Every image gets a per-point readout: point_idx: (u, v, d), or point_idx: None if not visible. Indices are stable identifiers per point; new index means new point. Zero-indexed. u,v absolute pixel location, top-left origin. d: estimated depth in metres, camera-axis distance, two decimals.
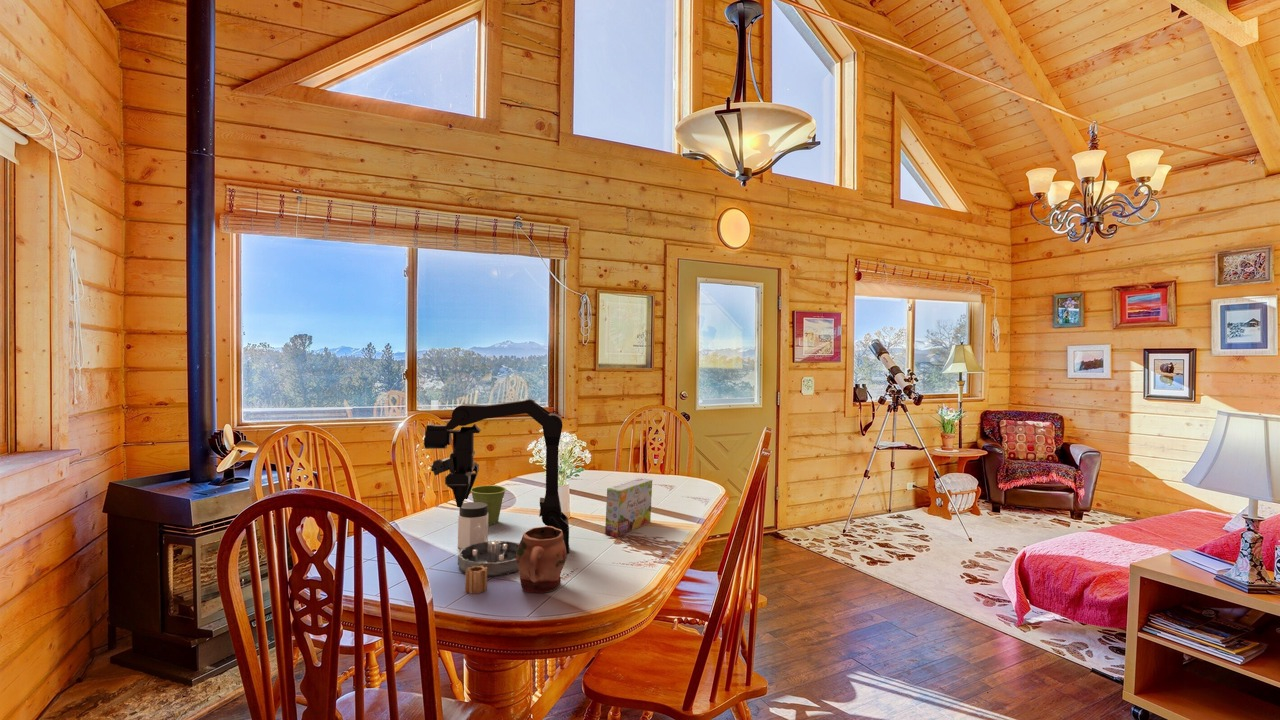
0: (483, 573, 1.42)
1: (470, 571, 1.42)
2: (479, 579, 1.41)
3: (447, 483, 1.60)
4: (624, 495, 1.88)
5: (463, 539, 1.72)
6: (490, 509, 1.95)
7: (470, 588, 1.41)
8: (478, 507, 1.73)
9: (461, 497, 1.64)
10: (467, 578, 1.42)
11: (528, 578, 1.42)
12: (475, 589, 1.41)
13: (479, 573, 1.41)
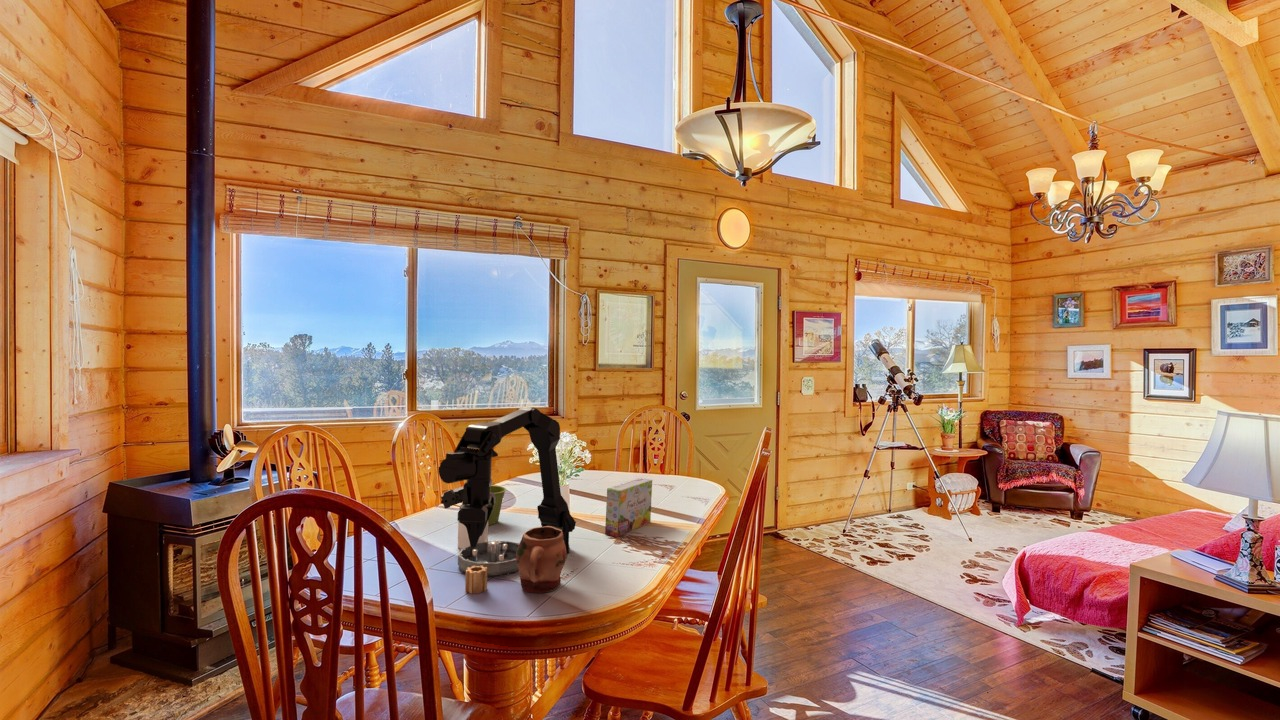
0: (483, 573, 1.42)
1: (470, 571, 1.42)
2: (479, 579, 1.41)
3: (460, 519, 1.34)
4: (624, 495, 1.88)
5: (463, 539, 1.72)
6: None
7: (470, 588, 1.41)
8: None
9: (476, 535, 1.38)
10: (467, 578, 1.42)
11: (528, 578, 1.42)
12: (475, 589, 1.41)
13: (479, 573, 1.41)
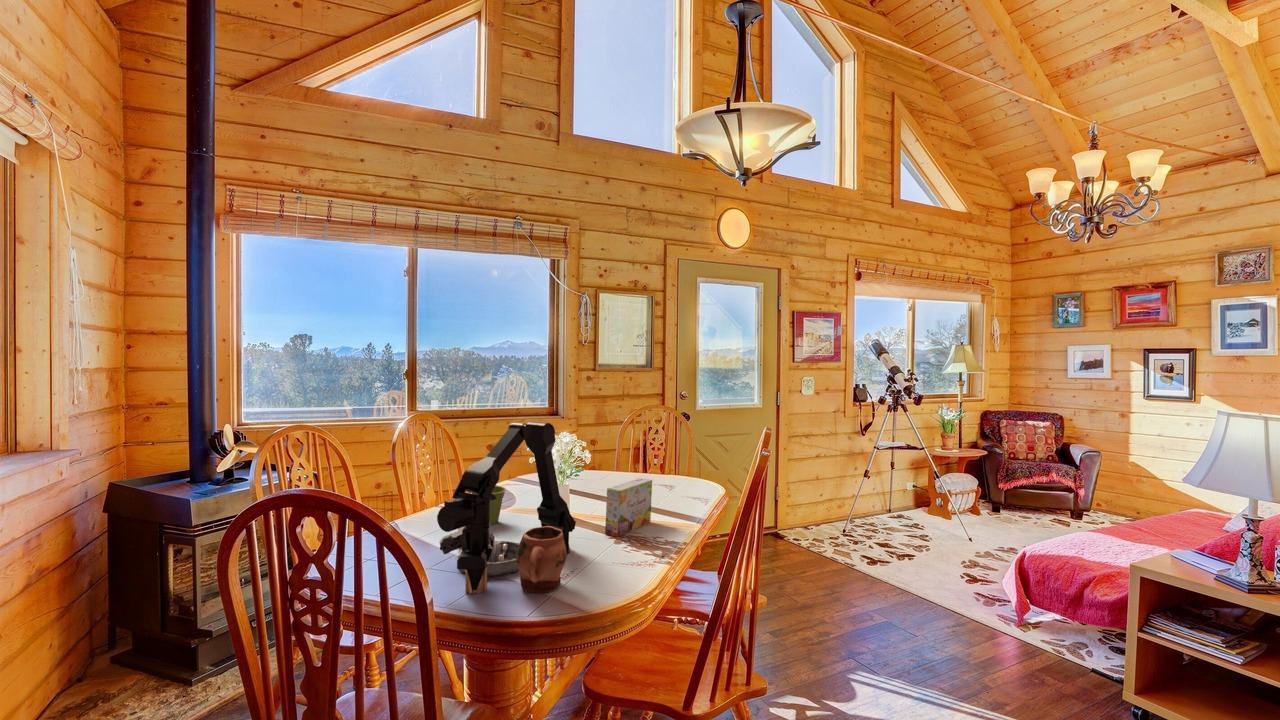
0: (483, 573, 1.42)
1: None
2: None
3: (459, 567, 1.34)
4: (624, 495, 1.88)
5: None
6: (490, 509, 1.95)
7: (470, 588, 1.41)
8: None
9: (477, 579, 1.40)
10: (467, 578, 1.42)
11: (528, 578, 1.42)
12: None
13: None
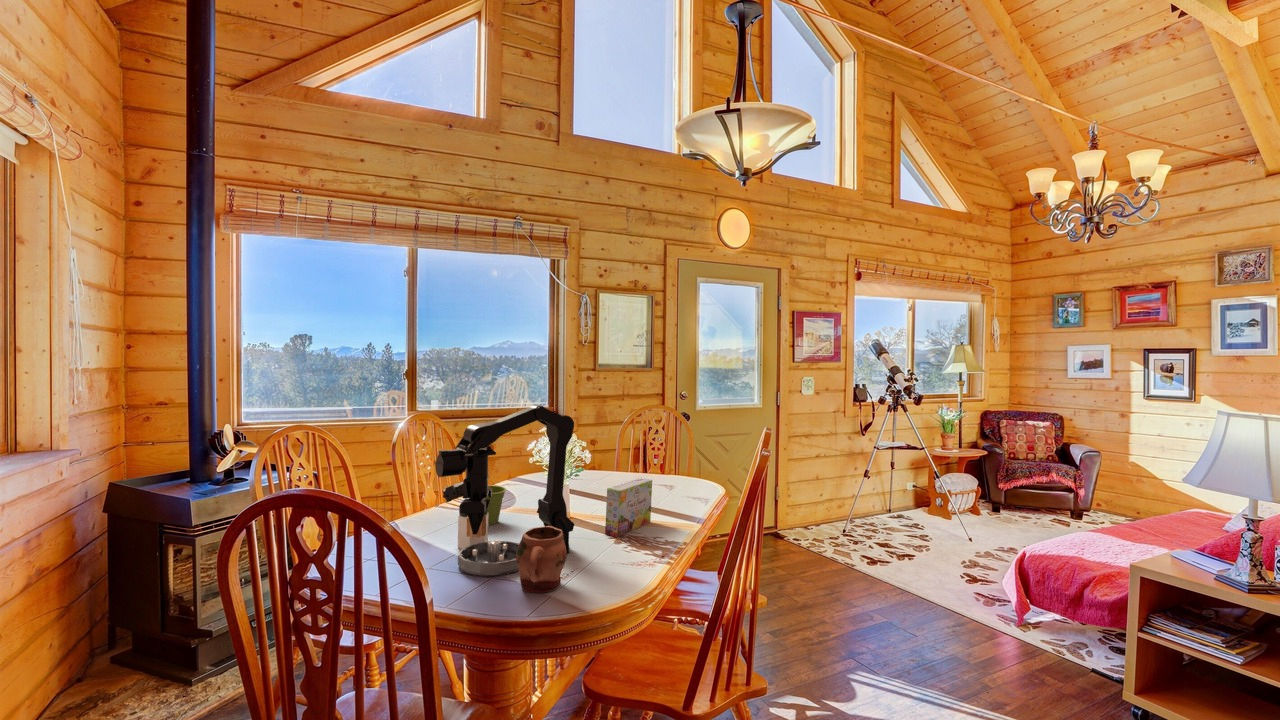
0: None
1: None
2: None
3: (461, 512, 1.48)
4: (624, 495, 1.88)
5: (463, 539, 1.72)
6: (490, 509, 1.95)
7: (471, 533, 1.55)
8: None
9: (477, 524, 1.54)
10: (468, 524, 1.56)
11: (528, 578, 1.42)
12: (475, 534, 1.56)
13: None
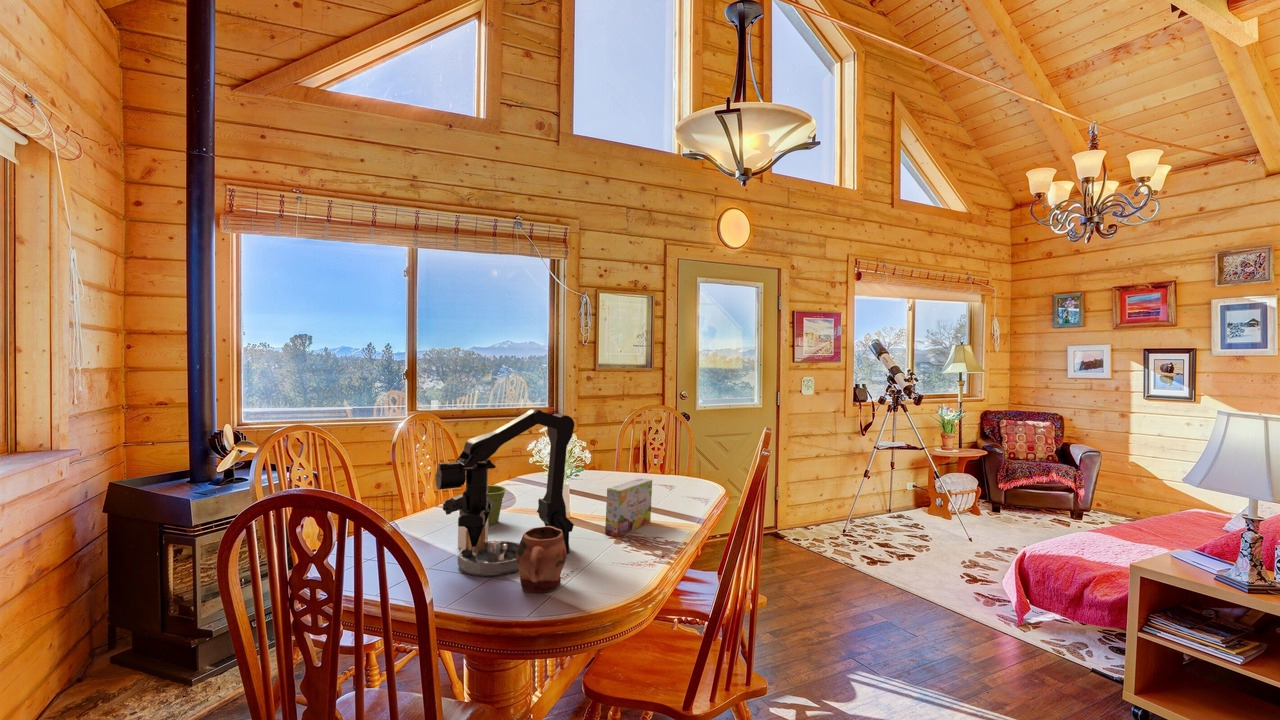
0: (481, 532, 1.59)
1: None
2: None
3: (460, 525, 1.50)
4: (624, 495, 1.88)
5: (463, 539, 1.72)
6: None
7: (470, 545, 1.57)
8: None
9: (476, 536, 1.56)
10: (467, 536, 1.58)
11: (528, 578, 1.42)
12: None
13: None
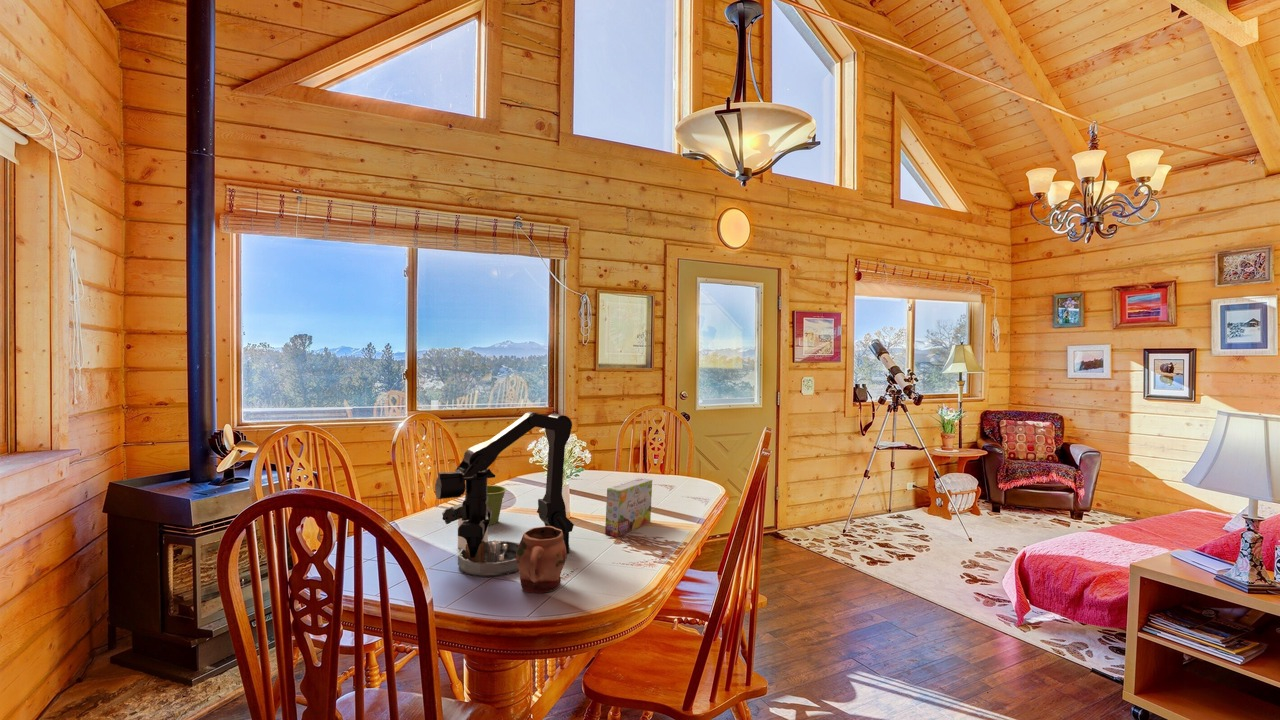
0: (481, 546, 1.59)
1: None
2: (477, 551, 1.58)
3: (460, 534, 1.50)
4: (624, 495, 1.88)
5: (463, 539, 1.72)
6: None
7: (469, 559, 1.57)
8: None
9: (475, 547, 1.55)
10: (467, 550, 1.58)
11: (528, 578, 1.42)
12: (474, 560, 1.58)
13: None
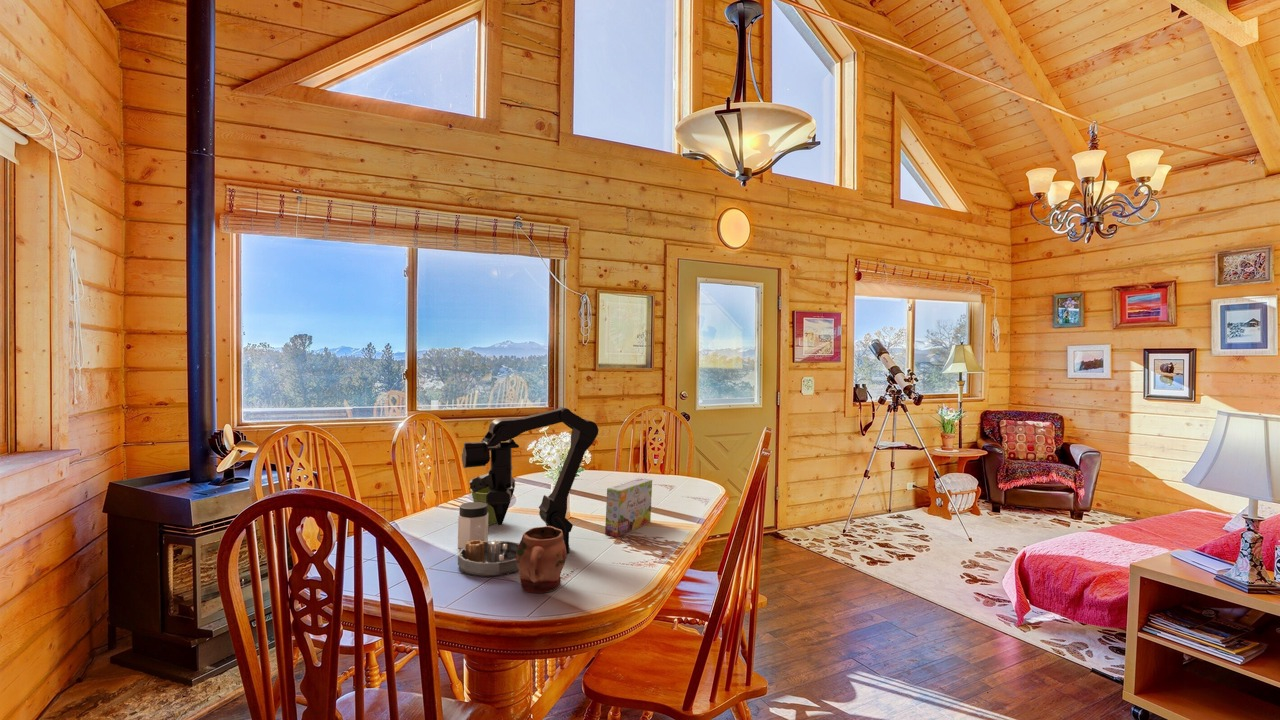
0: (481, 546, 1.59)
1: (469, 544, 1.58)
2: (477, 551, 1.58)
3: (488, 501, 1.56)
4: (624, 495, 1.88)
5: (463, 539, 1.72)
6: (490, 509, 1.95)
7: (469, 559, 1.57)
8: (478, 507, 1.73)
9: (502, 515, 1.60)
10: (467, 550, 1.58)
11: (528, 578, 1.42)
12: (474, 560, 1.58)
13: (477, 546, 1.58)
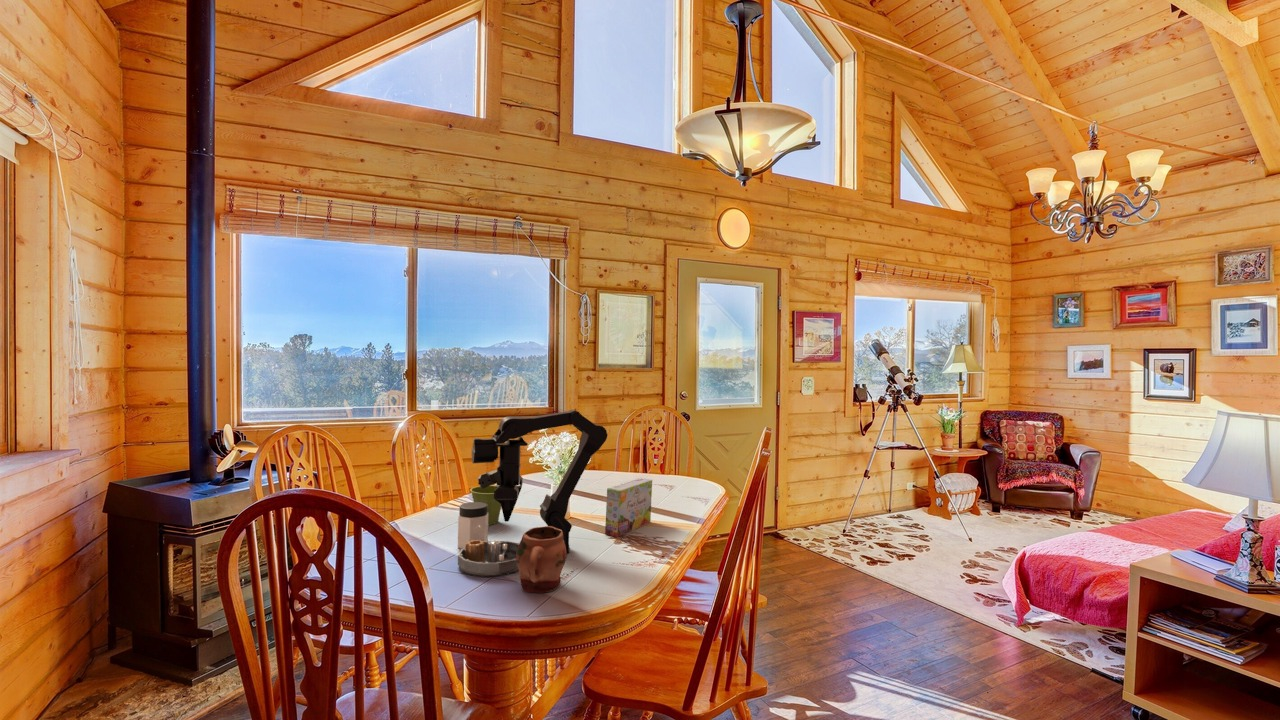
0: (481, 546, 1.59)
1: (469, 544, 1.58)
2: (477, 551, 1.58)
3: (496, 497, 1.58)
4: (624, 495, 1.88)
5: (463, 539, 1.72)
6: (490, 509, 1.95)
7: (469, 559, 1.57)
8: (478, 507, 1.73)
9: (509, 511, 1.62)
10: (467, 550, 1.58)
11: (528, 578, 1.42)
12: (474, 560, 1.58)
13: (477, 546, 1.58)
